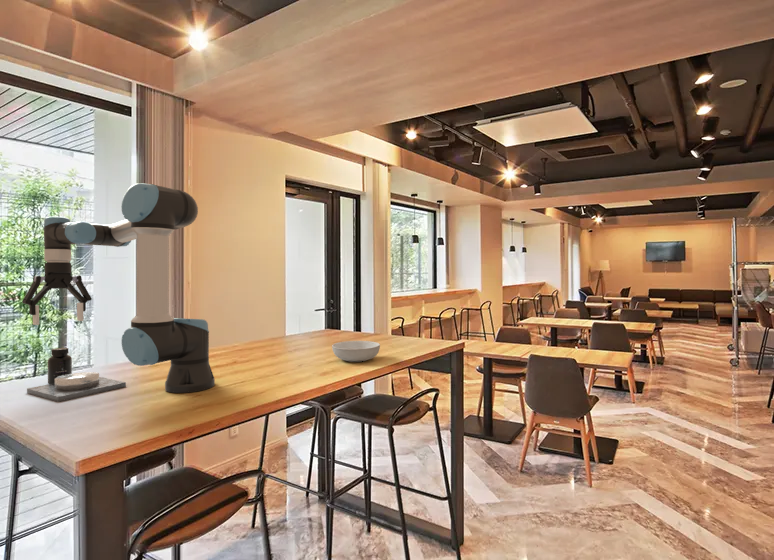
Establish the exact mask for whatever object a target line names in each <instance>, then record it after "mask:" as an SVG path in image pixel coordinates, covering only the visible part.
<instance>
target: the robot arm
mask: <svg viewBox="0 0 774 560" xmlns="http://www.w3.org/2000/svg"><path fill="white" fill-rule="evenodd" d="M198 213H199V207H198V203H197V202H196V200H195V199H194V197H193V196H192V195H191V194H189V193H188V192H186V191H183V190H180V189H174V188H171V187H166V186H162V185H158V184H157V185H156V184H152V183H144V182H143V183H142V182H141V183H140V182H139V183H135V184H133V185H131V186H130V187H129V188H128V189H127V191H125V193H124V195H123V197H122V201H121V214H122V215H123V218H124V220H120V221H118V222H115V223H111V224H102V223H93V222H92V223H90V222H88V221H79V220H76V221H71V219H70V218H68V217H62V216H47V217H45V218H44V223H43V226H42V227H43V245H44V251H43V252H44V254H43V255H44V256H43V257H44V261H45V262H44V276H41V275H35V276H33V277H32V278H33V280H32V282H31V286H30V287H29V288H28V291H27V292H26V293H25V294H24V295H25V296H24V297H23V298H22V300H21V303H22V304H24V305H28V307H29V308H28V309H29V315H30V316H32V325H35V326H39V325H40V305H39V304H38V303H39V302H40V301H41V300H42V298H43V297H45V295H46V294H47V293H49V291H50V290H52V289H66V290H67V291H68V292H69V293H70V294H72V296H73V297H74V298H75V299H76V300H78V302H76V321H78V322H84V312H86V309H87V306H86V303H87V302H89V301H92V297H91V294H90V293H89V291H88V289H87V288H86V285H85V284H84V283H83V279H82V276H81V275H72V263H71V261H72V245H84V246H85V245H87V246H106V247H117V248H118V247H119V248H120V247H127V246H129V245H130V243H131V242H132V241H134V240H136V315H135V316H134V317H133V318H132V319H131V320H130V327H129V328H127V329H126V330H125V331H124V332H123V334H122V336H121V348H122V351H123V354H124V356H125V357H126V358H127V360H128V361H129V362H130V363H131V364H133V365H136V366H139V367H141V366H154V365H155V364H156V365H157V364H159V363H164V362H168V361H170V368H169V370H168V374H167V377H166V380H165V382H164V390H165V392H169V393H175V394H176V393H177V394H181V393H182V394H183V393H185V394H186V393H194V392H195V393H196V392H200V391H206V390H208V389H210V388H213V387H215V383H216V382H215V377H214V374H213V371H212V368H211V365H210V361H209V360H210V359H209V358H210V357H209V356H210V355H209V354H210V352H209V350H210V348H209V338H210V336H209V335H210V330H209V323H208V321H207V320H205V319H202V318H201V319H200V318H199V319H198V318H183V317H182V318H180V317H179V318H177V317H173V316H171V314H170V313H169V306H170V305H169V304H170V303H169V302H170V301H169V300H170V299H169V291H170V289H169V287H170V286H169V285H170V280H169V279H170V277H169V276H170V275H169V274H170V273H169V272H170V271H169V270H170V261H169V259H170V258H169V257H170V256H169V255H170V252H169V250H170V249H169V247H170V245H169V244H170V236H171V234H173V233H174V232H175V230H179V229H180V230H181V229H183V228H186V227H187V226H188V227H189V226H190V225H191V224H192V223H194V222H195V221H196V219H197V217H198ZM43 281H44V283H45V284H44V285H43V286H42V288H41V289H40V290H39V291H38V292H37V290H38V289H39V287H40V285H41V283H43ZM72 281H73V282H74V283H75V285H76V287H77V288H78V290H77V289H76V288H75V287H74V285H73V284H72V283H71V282H72ZM36 292H37V293H36Z"/></svg>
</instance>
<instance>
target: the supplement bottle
mask: <svg viewBox="0 0 774 560" xmlns="http://www.w3.org/2000/svg"><path fill="white" fill-rule="evenodd" d="M50 353H51V354H50V355H51V356H50V357H48V359H47V385H48V384H53V383H55V378H56V377H59V376H62V375H67V374H73V357H72V356H71V355H69V348H68V347H58V348H57V347H56V348H52V349H51V352H50Z"/></svg>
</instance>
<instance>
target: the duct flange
mask: <svg viewBox="0 0 774 560" xmlns="http://www.w3.org/2000/svg"><path fill="white" fill-rule="evenodd" d="M122 388H127V383H126V382H125V381H121V380H116V379H111V378H107V377H102V376H100V373H99V372H97V371H95V372H93V371H85V372H83V371H82V372H72V374H67V375H62V376H59V377H56V378H55V383H53V384H48V383H47V384H45V385H44V384H43V385H38V386H33V387H28V388H26V393H27V394H28V393H29V395H32V396H35V395H36V397H39V398H43V399H47V400H50V401H54V402H56V403H59V402H64V401H68V400H73V399H77V398H81V397H82V398H83V397H86V396H90V395H91V396H92V395H94V394H95V395H96V394H99V393H103V392H104V393H105V392H108V391H113V389H114V390H117V389H122Z"/></svg>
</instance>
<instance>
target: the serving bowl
mask: <svg viewBox="0 0 774 560" xmlns="http://www.w3.org/2000/svg"><path fill="white" fill-rule="evenodd" d="M331 347H332V348H331V349H332V352H333V354H334V356H335V357H336V358H338V359H340V360H342V361H345V362H350V363H361V362H362V361H363V362H365V361H368V360H371V359H374V358H375V357H376V356H377V355H378V354H379V352H380V349H381V348H380V347H381V344H380V343H379V342H375V341H369V340H346V341H339V342H335V343H333V344H332V345H331ZM363 362H362V363H363Z"/></svg>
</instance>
